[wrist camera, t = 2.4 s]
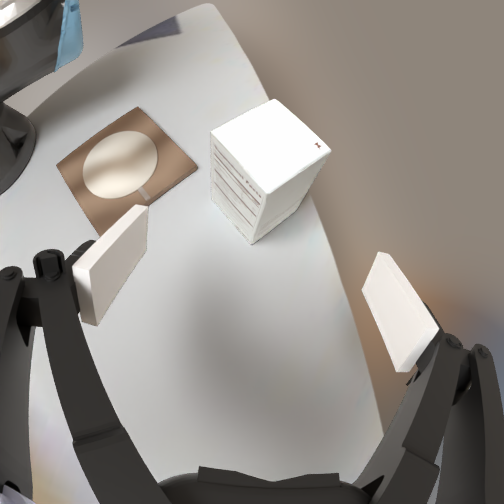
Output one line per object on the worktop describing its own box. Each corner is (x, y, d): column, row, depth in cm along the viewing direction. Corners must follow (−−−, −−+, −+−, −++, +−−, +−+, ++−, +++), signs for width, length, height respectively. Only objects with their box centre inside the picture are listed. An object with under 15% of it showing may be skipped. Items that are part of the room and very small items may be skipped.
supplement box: (257, 167, 36) (276, 95, 24) (297, 211, 35) (335, 150, 23) (209, 199, 34) (207, 129, 22) (249, 247, 33) (269, 195, 21)
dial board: (58, 168, 33) (55, 164, 31) (139, 110, 36) (137, 104, 35) (104, 241, 31) (100, 238, 30) (197, 169, 35) (196, 163, 33)
